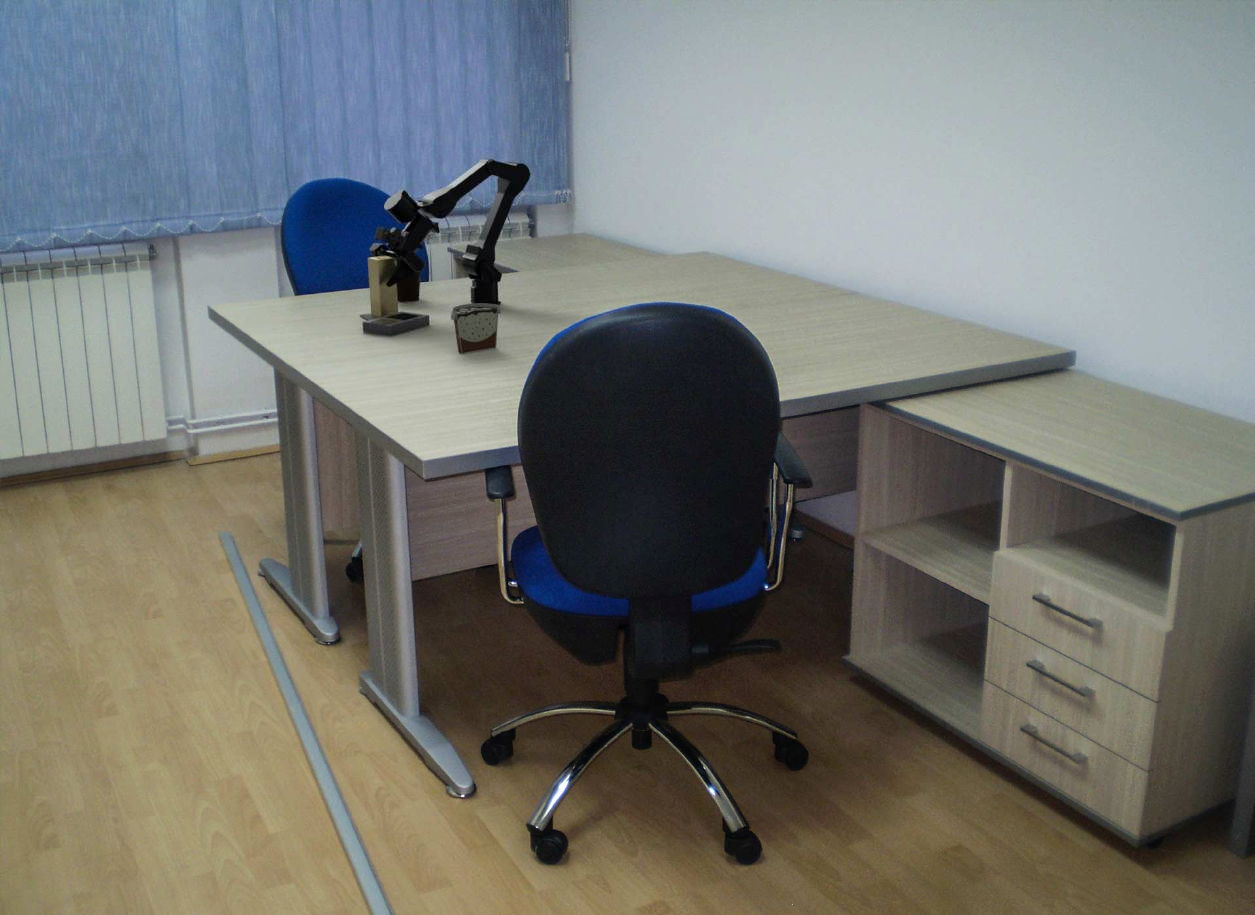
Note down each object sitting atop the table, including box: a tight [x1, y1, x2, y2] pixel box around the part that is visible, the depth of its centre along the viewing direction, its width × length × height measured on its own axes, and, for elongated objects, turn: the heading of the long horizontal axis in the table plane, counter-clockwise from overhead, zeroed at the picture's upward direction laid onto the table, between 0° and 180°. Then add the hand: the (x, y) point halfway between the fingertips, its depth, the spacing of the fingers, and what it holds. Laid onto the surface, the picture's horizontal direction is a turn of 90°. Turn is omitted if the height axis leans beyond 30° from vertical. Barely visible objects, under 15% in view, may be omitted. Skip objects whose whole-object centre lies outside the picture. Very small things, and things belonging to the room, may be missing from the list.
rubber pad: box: [359, 313, 376, 321], centre depth 326 cm, size 10×10×1 cm
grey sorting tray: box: [361, 311, 431, 337], centre depth 314 cm, size 14×9×3 cm, turn 149°
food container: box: [450, 303, 501, 355], centre depth 293 cm, size 12×6×10 cm, turn 129°
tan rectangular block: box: [367, 256, 399, 318], centre depth 323 cm, size 5×5×15 cm
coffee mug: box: [395, 261, 422, 303], centre depth 348 cm, size 12×9×10 cm
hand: (378, 283), depth 322 cm, fingers open, 9 cm apart
